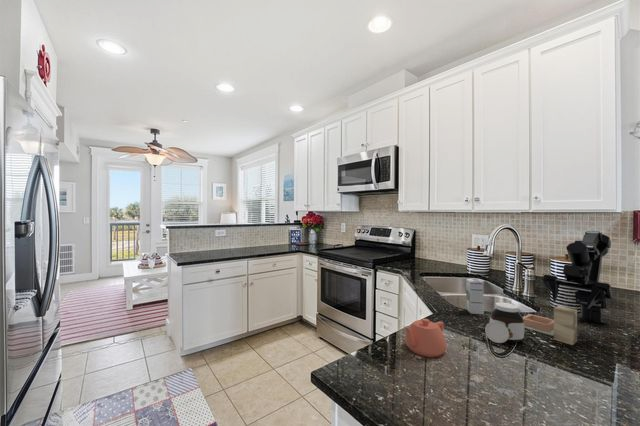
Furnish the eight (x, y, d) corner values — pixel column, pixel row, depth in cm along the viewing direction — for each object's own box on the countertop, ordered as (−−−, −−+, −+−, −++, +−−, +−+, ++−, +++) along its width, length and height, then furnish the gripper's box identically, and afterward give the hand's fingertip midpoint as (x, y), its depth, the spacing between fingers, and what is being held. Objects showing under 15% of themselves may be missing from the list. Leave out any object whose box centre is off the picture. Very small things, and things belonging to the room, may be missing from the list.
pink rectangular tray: (527, 319, 118) (527, 312, 118) (563, 328, 108) (563, 321, 108) (514, 324, 111) (514, 317, 111) (552, 335, 101) (552, 327, 101)
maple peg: (558, 336, 101) (558, 305, 101) (577, 341, 97) (577, 309, 97) (553, 339, 98) (553, 308, 98) (572, 345, 94) (572, 312, 94)
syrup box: (484, 314, 122) (484, 281, 123) (469, 313, 124) (469, 280, 124) (479, 310, 128) (479, 278, 128) (465, 309, 129) (465, 278, 129)
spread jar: (521, 336, 100) (521, 304, 100) (529, 350, 90) (529, 314, 90) (482, 330, 105) (482, 299, 105) (486, 342, 95) (486, 308, 95)
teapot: (458, 351, 88) (459, 321, 88) (418, 365, 79) (418, 332, 80) (427, 337, 99) (427, 310, 99) (388, 347, 90) (389, 318, 90)
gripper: (544, 254, 111) (533, 284, 105) (610, 260, 96) (602, 297, 90) (551, 271, 116) (540, 302, 109) (615, 280, 100) (608, 317, 94)
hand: (570, 304), depth 100 cm, fingers open, 9 cm apart
